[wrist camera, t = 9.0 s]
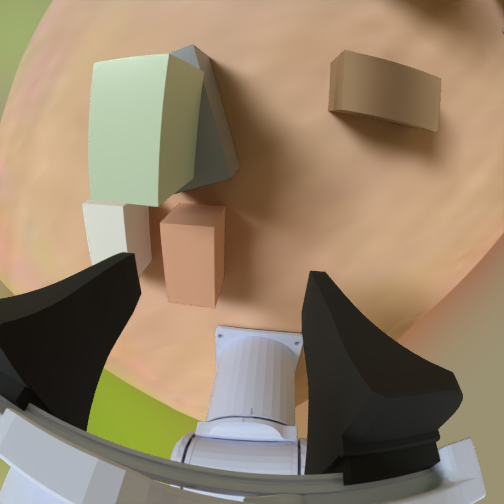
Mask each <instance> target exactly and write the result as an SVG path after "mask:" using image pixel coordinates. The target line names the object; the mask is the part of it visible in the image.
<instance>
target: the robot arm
mask: <svg viewBox="0 0 504 504" xmlns="http://www.w3.org/2000/svg"><path fill="white" fill-rule="evenodd" d="M140 295H141V288H140V283H139V277H138V271H137V265H136V259H135V253H127V252H121V253H118V254H116V255H113V256H111V257H109V258H107V259H105V260H103V261H101V262H99V263H97V264H95V265H93V266H91V267H89V268H87V269H85V270H83V271H81V272H79V273H76V274H74V275H72V276H70V277H68V278H66V279H64V280H62V281H59V282H57V283H54V284H52V285H49V286H47V287H44V288H41V289H38V290H34V291H31V292H28V293H25V294H21V295H17V296H13V297H8V298H2V299H0V458H1V459H2V460H4V461H5V462H6V463H7V464H8V465H10V466H11V468H10V470H9V472H8V475H7V477H6V479H5V482H4V484H3V487H2V489H1V492H0V504H473V503H475V502H477V501H478V500H480V499H482V498H484V497H485V495H486V492H485V487H484V483H483V478H482V474H481V471H480V466H479V463H478V459H477V456H476V452H475V449H474V445H473V443H472V439H471V438H470V437H468V438H466V439H462V440H460V441H457V442H454V443H450V444H448V445H445V446H443V447H441V448H439V449H437V445H436V442H437V441H438V440H439V439H440V434H439V431H438V429H439V428H440V427H441V426H442V425H443V424H444V423H445V422H446V421H447V420H448V419H449V418H450V417H451V416H452V415H453V414H454V413H455V412H456V410H457V409H458V408H459V406H460V404H461V402H462V399H463V394H462V391H461V389H460V387H459V385H458V382H457V380H456V378H455V376H454V373H453V372H451V371H449V370H446V369H444V368H442V367H440V366H438V365H435V364H433V363H431V362H429V361H427V360H425V359H423V358H421V357H420V356H418V355H416V354H414V353H413V352H411V351H410V350H408V349H406V348H405V347H403V346H402V345H400V344H399V343H397V342H396V341H395V340H393V339H392V338H390V337H389V336H388V335H386V334H385V333H384V332H382V331H381V330H380V329H379V328H378V327H377V326H375V325H374V324H373V323H372V322H371V321H370V320H368V319H367V318H366V317H365V316H364V315H363V314H362V313H361V312H360V311H359V310H358V309H357V308H356V307H355V306H354V305H353V304H352V302H351V301H350V300H349V299H348V298H347V297H346V296H345V295H344V294H343V292H342V291H341V290H340V289H339V288H338V286H337V285H336V284H335V283H334V282H333V280H332V279H331V278H330V277H329V276H328V275H327V273H326V272H319V271H310V273H309V278H308V283H307V289H306V293H305V298H304V303H303V308H302V334H300V333H288V332H276V331H264V330H254V329H244V328H235V327H226V326H218V327H216V330H215V339H216V364H217V371H216V376H215V380H214V385H213V389H212V394H211V398H210V403H209V407H208V412H207V416H206V421H205V422H198V424H197V428H196V432H195V433H194V432H188V433H186V434H185V435H184V436H183V437H182V438H181V439H180V440H179V441H178V442H177V444H176V445H175V447H174V449H173V452H172V455H171V459H170V460H169V459H165V458H161V457H157V456H153V455H150V454H146V453H143V452H140V451H137V450H133V449H130V448H127V447H124V446H121V445H118V444H116V443H113V442H110V441H108V440H105V439H103V438H100V437H98V436H95V435H92V434H90V433H88V432H86V431H87V425H88V419H89V414H90V409H91V405H92V402H93V398H94V394H95V391H96V388H97V384H98V381H99V379H100V376H101V373H102V370H103V368H104V365H105V363H106V360H107V358H108V356H109V354H110V352H111V350H112V348H113V346H114V344H115V343H116V341H117V339H118V337H119V336H120V334H121V332H122V331H123V329H124V327H125V326H126V324H127V322H128V320H129V319H130V317H131V315H132V314H133V312H134V310H135V307H136V305H137V303H138V300H139V298H140ZM219 334H221V335H219ZM303 345H304V353H305V360H306V368H307V375H308V387H309V407H308V408H309V410H308V436H307V438H299V440H298V435H297V427H296V426H295V380H294V375H295V371H296V368H297V364H298V361H299V357H300V353H301V350H302V346H303ZM297 440H298V443H297ZM154 480H156V481H154ZM157 481H160V482H163V483H167V484H170V485H166V484H163V483H160V482H157Z"/></svg>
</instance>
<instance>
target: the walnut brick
mask: <svg viewBox="0 0 504 504" xmlns="http://www.w3.org/2000/svg"><path fill="white" fill-rule="evenodd" d="M440 100H441V78H439V77H436V76H434V75H431V74H428V73H426V72H423V71H420V70H417V69H414V68H411V67H408V66H405V65H402V64H399V63H395V62H392V61H388V60H385V59H381V58H377V57H373V56H369V55H365V54H360V53H355V52H351V51H346V50H344V51H343V52H342V53H341V54H340V55H339V56H338V57H337V58H336V59H334V60H333V61H332V62H331V72H330V90H329V105H328V111H334V112H340V113H346V114H352V115H358V116H363V117H368V118H373V119H378V120H382V121H387V122H391V123H395V124H399V125H403V126H407V127H411V128H417V129H423V130H428V131H433V132H438V125H439V114H440Z"/></svg>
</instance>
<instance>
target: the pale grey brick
mask: <svg viewBox="0 0 504 504" xmlns="http://www.w3.org/2000/svg"><path fill="white" fill-rule="evenodd" d="M82 206H83V214H84V222H85V228H86V235H87V241H88V247H89V252H90V257H91V262H92V266H93V265H95V264H97V263H99V262H101V261H103V260H105V259H107V258H109V257H111V256H113V255H116V254H118V253H121V252H127V253H135V259H136V265H137V271H138V277H140V275H141V274H142V273H143V271H144V270H145V269H146V267H147V266H148V265H149V263H150V262H151V261H152V254H151V241H150V226H149V206H145V205H137V204H128V203H119V202H109V201H100V200H90V199H89V200H88V201H86V202H84V203H82Z"/></svg>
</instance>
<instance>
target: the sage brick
mask: <svg viewBox="0 0 504 504" xmlns="http://www.w3.org/2000/svg"><path fill="white" fill-rule="evenodd" d="M203 78H204V71H202V70H200V69H198V68H196V67H195V66H193V65H191V64H189V63H187V62H185V61H183V60H181V59H179V58H177V57H175V56H173V55H171V54H155V55H144V56H135V57H127V58H120V59H113V60H107V61H102V62H96V63H94V68H93V76H92V85H91V96H90V110H89V135H88V161H89V187H90V200H100V201H109V202H119V203H128V204H137V205H145V206H154V207H159V206H160V205H161V204H162V203H163V202H165V201H166V200H167V199H168V198H169V197H171V196H172V195H173V194H174V193H176V192H177V191H178V190H179V189H181V188H182V187H183V186H184V185H186V184H187V183H188V182H189V181H191V180H192V179H193V178H194V166H195V153H196V141H197V130H198V120H199V111H200V102H201V93H202V85H203Z"/></svg>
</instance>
